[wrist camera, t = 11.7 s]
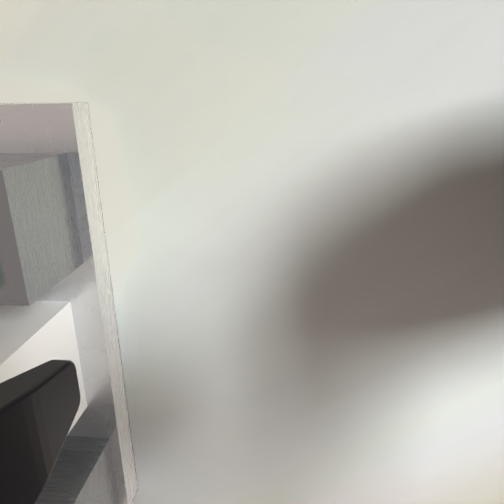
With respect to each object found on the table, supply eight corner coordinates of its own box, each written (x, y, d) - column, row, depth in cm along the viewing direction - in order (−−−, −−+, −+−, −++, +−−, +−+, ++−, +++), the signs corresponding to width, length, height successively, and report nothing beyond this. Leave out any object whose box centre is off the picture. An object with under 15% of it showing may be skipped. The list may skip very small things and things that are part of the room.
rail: (87, 102, 20) (-2, 106, 14) (137, 488, 27) (92, 598, 22) (-60, 104, 21) (-203, 110, 15) (27, 480, 28) (-46, 584, 22)
